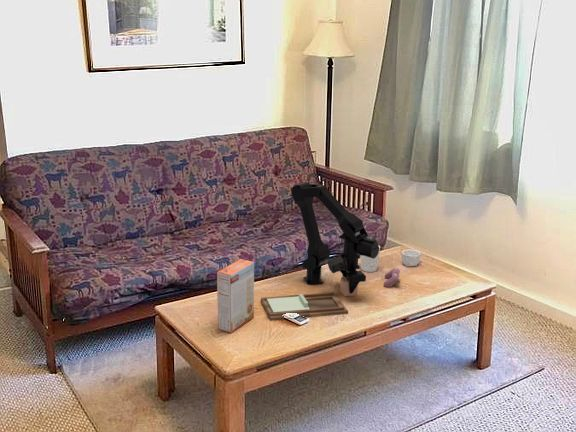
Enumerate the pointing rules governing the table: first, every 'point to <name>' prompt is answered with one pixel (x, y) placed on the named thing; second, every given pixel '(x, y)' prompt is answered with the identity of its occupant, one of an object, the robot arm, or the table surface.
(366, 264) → the white cup
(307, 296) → the board
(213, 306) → the table surface
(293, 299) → the lid
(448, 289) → the table surface
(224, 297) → the cracker box
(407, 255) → the teacup
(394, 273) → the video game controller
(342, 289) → the block
